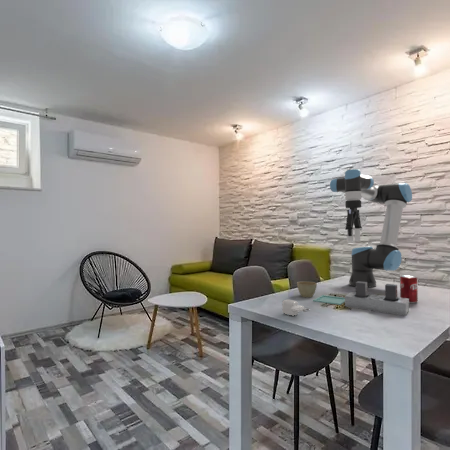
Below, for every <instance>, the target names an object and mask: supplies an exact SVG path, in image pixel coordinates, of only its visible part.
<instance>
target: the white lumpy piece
mask: <svg viewBox="0 0 450 450" xmlns="http://www.w3.org/2000/svg"><path fill="white" fill-rule="evenodd" d="M281 306H282V307H281V309H282V311H281V312H282V314H283V313H285V314H289V315H292V316H291V317H294V315H295V316H298V315H297V314H299V313H300V312H307V311H310V308H307V307H305V306H304V305H301V304H299V302H298V301H297V300H293V299H285V300H282V303H281ZM285 314H284V315H285ZM289 315H288V316H289Z"/></svg>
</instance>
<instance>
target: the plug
mask: <svg viewBox="0 0 450 450" xmlns="http://www.w3.org/2000/svg"><path fill="white" fill-rule="evenodd" d="M355 293H356V296H358V297H366V298H367V297H368V296H367V294H368V287H367V282H361V281H358V282H356V286H355Z"/></svg>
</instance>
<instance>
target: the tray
mask: <svg viewBox="0 0 450 450" xmlns="http://www.w3.org/2000/svg"><path fill="white" fill-rule="evenodd" d="M312 301H313V302H314V303H315V302H317V303H322V304H323V303H325V304H331V305H339V306H341V305H342V304H345V297H341V296H333V295H327V294H326V295H325V294H322V295H320V296H318V297H316V298H314V299H312Z"/></svg>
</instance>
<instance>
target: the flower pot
mask: <svg viewBox="0 0 450 450" xmlns="http://www.w3.org/2000/svg"><path fill="white" fill-rule="evenodd" d="M296 285H297V289H298V293H299V294H300V296H301V297H303V298H312V297H313V296H314V294H315V293H316V291H317V287H318V286H317V285H318V283H317V282H313V281H297V282H296Z"/></svg>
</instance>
